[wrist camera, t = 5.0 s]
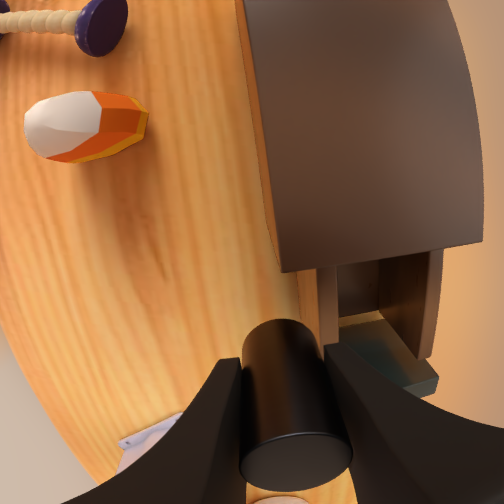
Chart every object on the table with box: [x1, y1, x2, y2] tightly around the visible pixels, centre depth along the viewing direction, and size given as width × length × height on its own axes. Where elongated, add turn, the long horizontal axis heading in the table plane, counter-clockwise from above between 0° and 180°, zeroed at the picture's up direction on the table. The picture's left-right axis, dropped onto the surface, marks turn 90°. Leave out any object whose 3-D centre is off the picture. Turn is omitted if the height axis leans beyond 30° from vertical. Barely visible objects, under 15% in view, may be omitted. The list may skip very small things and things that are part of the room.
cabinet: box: [235, 0, 484, 273], centre depth 12 cm, size 14×8×9 cm, turn 8°
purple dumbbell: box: [0, 0, 128, 57], centre depth 11 cm, size 5×5×17 cm
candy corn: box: [24, 91, 149, 163], centre depth 12 cm, size 6×3×8 cm, turn 103°
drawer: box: [296, 249, 444, 398], centre depth 15 cm, size 17×7×7 cm, turn 8°
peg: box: [239, 319, 353, 492], centre depth 8 cm, size 3×3×5 cm
